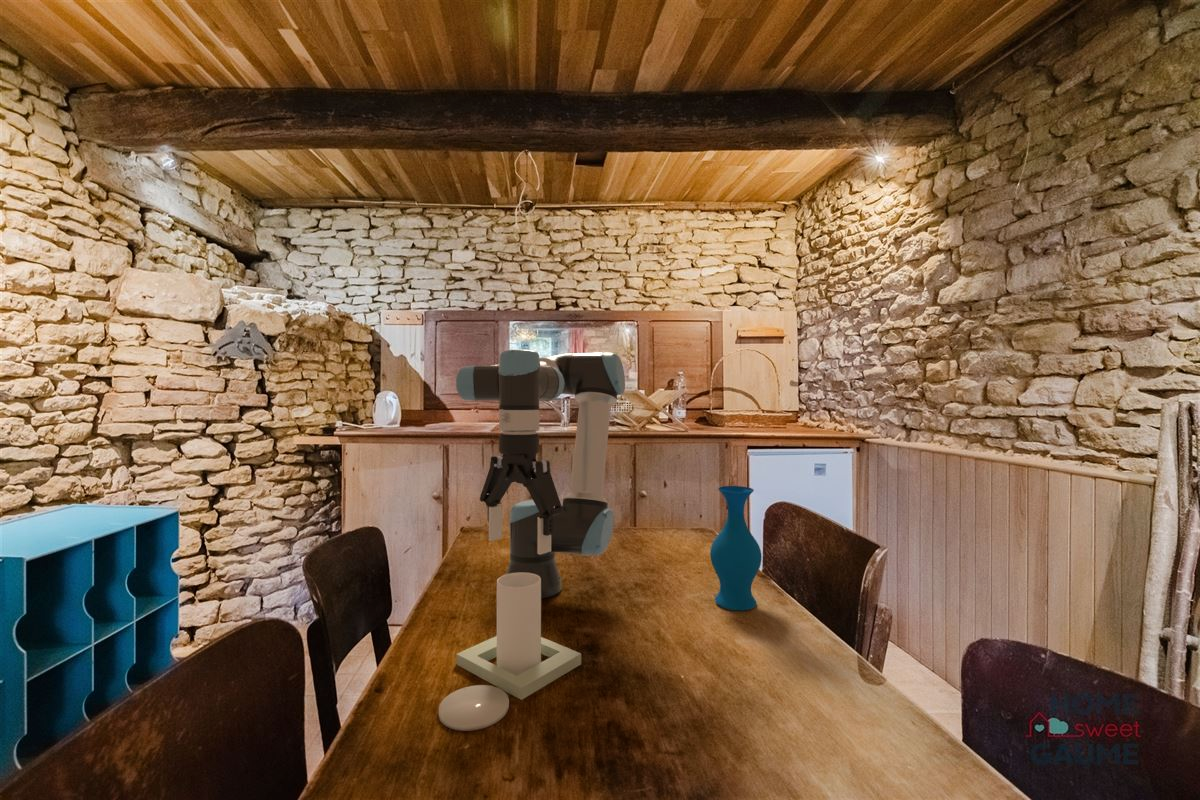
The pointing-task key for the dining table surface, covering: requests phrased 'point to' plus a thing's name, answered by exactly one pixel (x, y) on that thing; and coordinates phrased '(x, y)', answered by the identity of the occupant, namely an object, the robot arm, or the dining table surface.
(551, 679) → the pale green rectangular frame
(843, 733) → the dining table surface
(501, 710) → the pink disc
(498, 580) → the cup
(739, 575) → the vase
